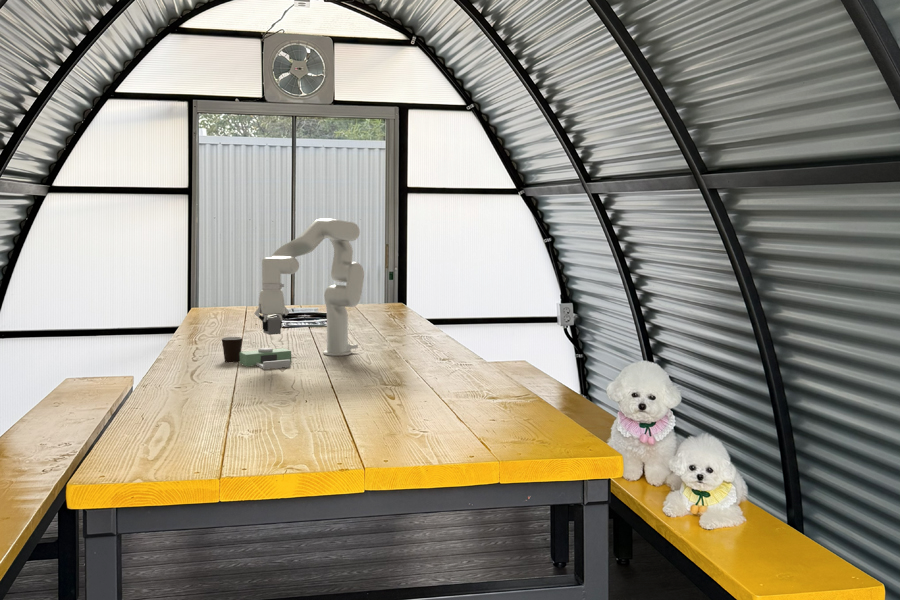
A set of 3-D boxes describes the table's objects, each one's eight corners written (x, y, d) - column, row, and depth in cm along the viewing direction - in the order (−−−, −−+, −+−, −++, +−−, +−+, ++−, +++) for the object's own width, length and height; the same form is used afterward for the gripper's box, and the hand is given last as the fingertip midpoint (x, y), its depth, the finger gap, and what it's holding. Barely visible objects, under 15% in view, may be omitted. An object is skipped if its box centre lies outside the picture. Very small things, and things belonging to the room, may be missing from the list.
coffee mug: (237, 363, 343) (236, 340, 342) (218, 362, 344) (218, 339, 343) (249, 358, 354) (248, 336, 353) (231, 357, 356) (230, 335, 355)
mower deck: (284, 359, 353) (284, 345, 352) (300, 366, 338) (300, 351, 337) (239, 363, 342) (239, 349, 342) (253, 370, 327) (253, 355, 326)
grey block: (274, 331, 340) (274, 315, 339) (280, 333, 334) (280, 317, 334) (263, 332, 338) (263, 316, 337) (269, 334, 332) (268, 318, 331)
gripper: (287, 285, 341) (288, 328, 343) (248, 287, 332) (249, 330, 334) (294, 287, 335) (294, 330, 337) (254, 288, 326) (255, 333, 328)
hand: (272, 330), depth 336 cm, fingers closed on grey block, 5 cm apart
